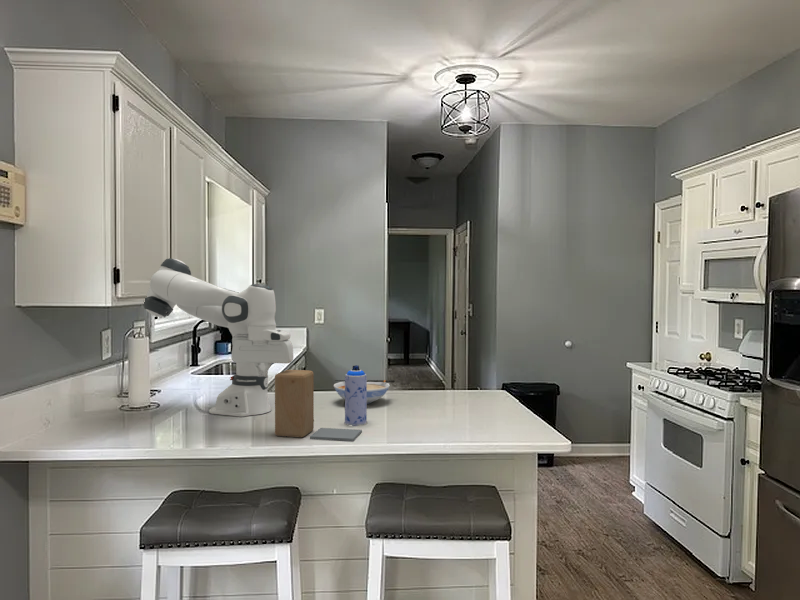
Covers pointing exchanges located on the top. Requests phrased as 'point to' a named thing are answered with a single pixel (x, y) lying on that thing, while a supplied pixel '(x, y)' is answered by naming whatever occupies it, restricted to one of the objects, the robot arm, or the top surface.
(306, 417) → the wooden block
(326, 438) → the mat
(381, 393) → the ramen bowl
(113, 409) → the top surface
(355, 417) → the aerosol can
